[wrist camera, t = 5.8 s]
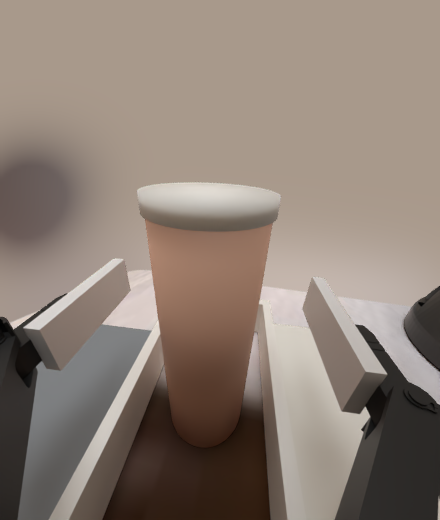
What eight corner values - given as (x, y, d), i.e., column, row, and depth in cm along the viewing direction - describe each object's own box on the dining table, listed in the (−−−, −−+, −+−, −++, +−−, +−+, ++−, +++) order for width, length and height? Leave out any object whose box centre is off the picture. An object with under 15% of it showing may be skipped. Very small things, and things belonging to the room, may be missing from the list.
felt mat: (153, 333, 22) (152, 330, 22) (29, 565, 9) (26, 563, 9) (68, 322, 23) (67, 320, 22) (-148, 522, 10) (-155, 520, 10)
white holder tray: (361, 339, 22) (375, 311, 20) (629, 758, 7) (790, 802, 5) (176, 317, 24) (173, 290, 22) (47, 608, 8) (5, 598, 7)
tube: (243, 373, 18) (271, 186, 11) (242, 457, 13) (295, 211, 6) (181, 364, 19) (167, 180, 11) (156, 442, 14) (101, 198, 6)
